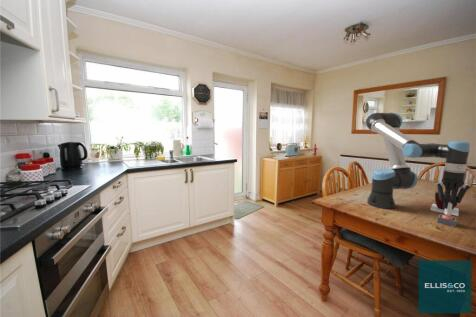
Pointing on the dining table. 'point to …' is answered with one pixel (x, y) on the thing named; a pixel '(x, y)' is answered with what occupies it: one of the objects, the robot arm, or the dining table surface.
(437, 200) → the mug
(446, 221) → the button housing
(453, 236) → the dining table surface
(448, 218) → the button
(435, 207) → the paper
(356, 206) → the dining table surface
